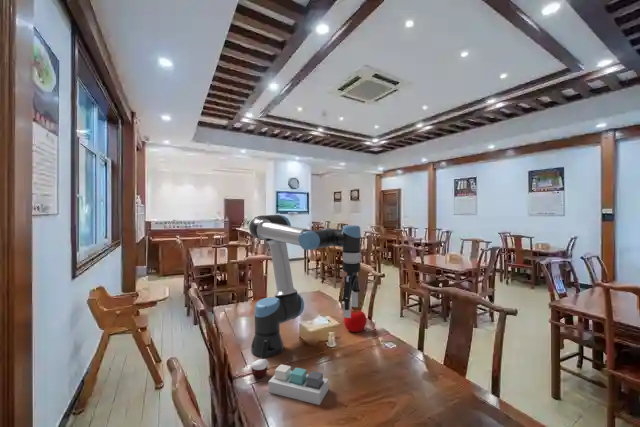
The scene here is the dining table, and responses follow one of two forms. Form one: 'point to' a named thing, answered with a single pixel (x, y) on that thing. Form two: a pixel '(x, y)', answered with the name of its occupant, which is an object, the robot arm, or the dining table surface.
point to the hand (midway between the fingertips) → (351, 311)
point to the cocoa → (260, 364)
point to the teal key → (299, 376)
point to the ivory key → (283, 372)
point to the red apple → (355, 321)
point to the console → (298, 390)
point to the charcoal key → (315, 380)
